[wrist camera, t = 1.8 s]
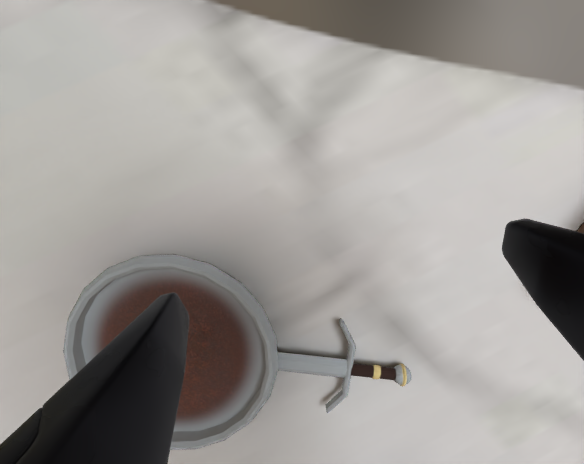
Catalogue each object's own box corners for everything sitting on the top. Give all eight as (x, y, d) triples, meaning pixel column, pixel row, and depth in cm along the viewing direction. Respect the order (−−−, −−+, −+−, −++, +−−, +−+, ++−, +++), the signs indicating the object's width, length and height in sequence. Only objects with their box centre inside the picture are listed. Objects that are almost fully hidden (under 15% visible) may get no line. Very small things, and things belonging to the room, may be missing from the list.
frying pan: (398, 476, 26) (60, 446, 25) (387, 445, 29) (83, 417, 28) (440, 285, 22) (48, 245, 22) (423, 272, 25) (77, 236, 25)
